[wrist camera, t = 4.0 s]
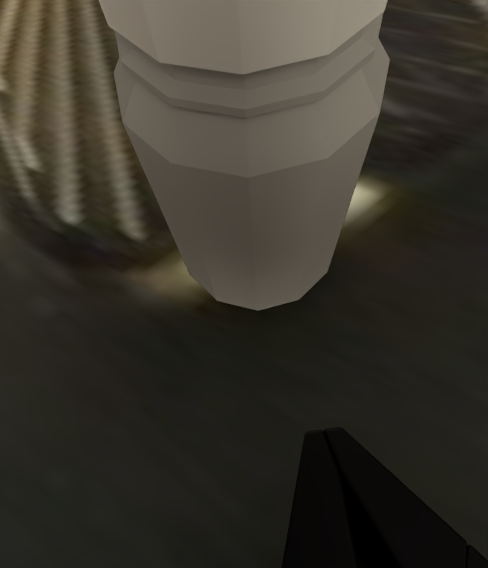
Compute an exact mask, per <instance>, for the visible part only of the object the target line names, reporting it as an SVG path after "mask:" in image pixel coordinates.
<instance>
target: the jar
mask: <svg viewBox="0 0 488 568" xmlns="http://www.w3.org/2000/svg"><path fill="white" fill-rule="evenodd" d="M99 2H100V5H101V8H102V10H103V13H104V15H105V18H106V21H107V23H108V26H110V27H111V28H112V29H114V30H115V34H116V40H117V45H118V50H119V56H120V58H119V60H118V63H117V65H116V68H115V70H114V77H115V82H116V88H117V94H118V99H119V105H120V111H121V117H122V122H123V125H124V127H125V129H126V132H127V134H128V136H129V138H130V141H131V143H132V145H133V147H134V150H135V152H136V154H137V156H138V159H139V161H140V163H141V165H142V168H143V170H144V172H145V175H146V177H147V179H148V181H149V184H150V186H151V188H152V190H153V193H154V195H155V197H156V199H157V202H158V204H159V206H160V209H161V211H162V213H163V215H164V218H165V220H166V222H167V224H168V227H169V229H170V231H171V233H172V236H173V238H174V240H175V243H176V245H177V247H178V249H179V252H180V254H181V256H182V258H183V261H184V263H185V265H186V267H187V270H188V272H189V274H190V275H191V276H192V277H193V278H194V279H195V280H196V281H197V282H198V283H199V284H200V285H201V286H202V287H203V288H204V289H205V290H206V291H207V292H209V293H210V294H211V295H212V296H213V297H214V298H215V299H216V300H217V301H220V302H224V303H228V304H233V305H237V306H241V307H245V308H249V309H253V310H257V311H258V310H262V309H266V308H270V307H274V306H277V305H281V304H285V303H289V302H292V301H296V300H299V299H300V298H301V297H302V296H303V295H304V294H305V293H306V292H307V291H309V290H310V289H311V288H312V287H313V286H314V285H315V284H316V283H317V282H318V281H319V280H320V279H321V278H322V277H323V276H324V275H325V274H326V273H327V271H328V268H329V265H330V262H331V259H332V256H333V253H334V250H335V247H336V244H337V241H338V238H339V235H340V232H341V229H342V226H343V223H344V220H345V217H346V214H347V211H348V208H349V205H350V201H351V198H352V195H353V192H354V189H355V186H356V183H357V180H358V177H359V174H360V171H361V168H362V165H363V162H364V159H365V156H366V153H367V150H368V147H369V144H370V141H371V138H372V135H373V132H374V128H375V125H376V122H377V119H378V116H379V113H380V109H381V103H382V98H383V93H384V87H385V82H386V77H387V71H388V66H389V61H390V59H389V57H388V55H387V53H386V52H385V50H384V48H383V46H382V44H381V42H380V40H379V38H378V35H379V30H380V26H381V21H382V16H383V12H384V11H385V7H386V3H387V0H99Z"/></svg>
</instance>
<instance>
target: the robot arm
mask: <svg viewBox="0 0 488 568" xmlns="http://www.w3.org/2000/svg"><path fill="white" fill-rule="evenodd" d="M282 568H488V560H486V559H485V558H484V557H483V556H482V555H481V554H480V553H479V552H478V551H477V550H476V549H474V548H473V547H472V546H471V545H468V546H467V542H466V541H465V540H464V539H463V538H462V537H461V536H460V535H459V534H458V533H457V532H456V531H455V530H453V529H452V528H451V527H450V526H449V525H448V524H447V523H446V522H445V521H444V520H442V519H441V518H440V517H439V516H438V515H437V514H436V513H435V512H434V511H433V510H432V509H430V508H429V507H428V506H427V505H426V504H425V503H424V502H423V501H422V500H421V499H420V498H418V497H417V496H416V495H415V494H414V493H413V492H412V491H411V490H410V489H409V488H407V487H406V486H405V485H404V484H403V483H402V482H401V481H400V480H399V479H398V478H397V477H395V476H394V475H393V474H392V473H391V472H390V471H389V470H388V469H387V468H386V467H384V466H383V465H382V464H381V463H380V462H379V461H378V460H377V459H376V458H375V457H374V456H372V455H371V454H370V453H369V452H368V451H367V450H366V449H365V448H364V447H363V446H361V445H360V444H359V443H358V442H357V441H356V440H355V439H354V438H353V437H352V436H351V435H349V434H348V433H347V432H346V431H345V430H344V429H343V428H341V427H336V428H329V429H325V430H324V432H323V431H322V430H315V431H308V432H306V433H305V436H304V441H303V447H302V453H301V459H300V464H299V470H298V476H297V482H296V488H295V493H294V499H293V505H292V511H291V516H290V522H289V528H288V534H287V540H286V545H285V551H284V557H283V563H282Z"/></svg>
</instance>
